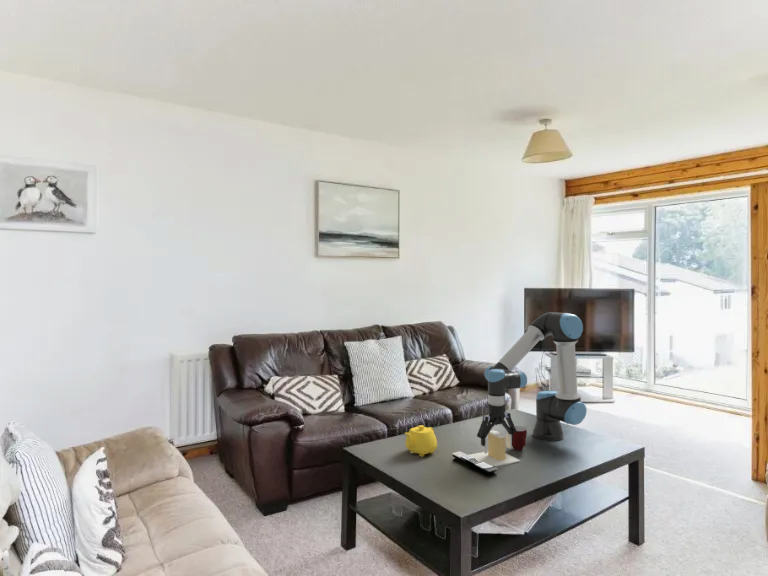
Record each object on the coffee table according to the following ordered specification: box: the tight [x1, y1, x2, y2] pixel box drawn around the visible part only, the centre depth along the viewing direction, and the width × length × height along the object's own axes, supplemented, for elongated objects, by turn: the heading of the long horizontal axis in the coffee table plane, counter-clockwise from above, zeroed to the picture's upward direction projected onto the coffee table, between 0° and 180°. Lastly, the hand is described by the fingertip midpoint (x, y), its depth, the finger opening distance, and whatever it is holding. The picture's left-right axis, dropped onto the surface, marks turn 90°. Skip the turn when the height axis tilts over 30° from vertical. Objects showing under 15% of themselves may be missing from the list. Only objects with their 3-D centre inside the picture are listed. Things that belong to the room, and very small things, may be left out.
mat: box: [468, 450, 521, 468], centre depth 226 cm, size 21×16×1 cm
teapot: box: [404, 424, 438, 458], centre depth 234 cm, size 14×20×13 cm
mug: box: [512, 425, 528, 452], centre depth 238 cm, size 10×8×10 cm
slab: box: [487, 429, 506, 461], centre depth 227 cm, size 4×8×11 cm, turn 25°
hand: (497, 450), depth 227 cm, fingers open, 13 cm apart
